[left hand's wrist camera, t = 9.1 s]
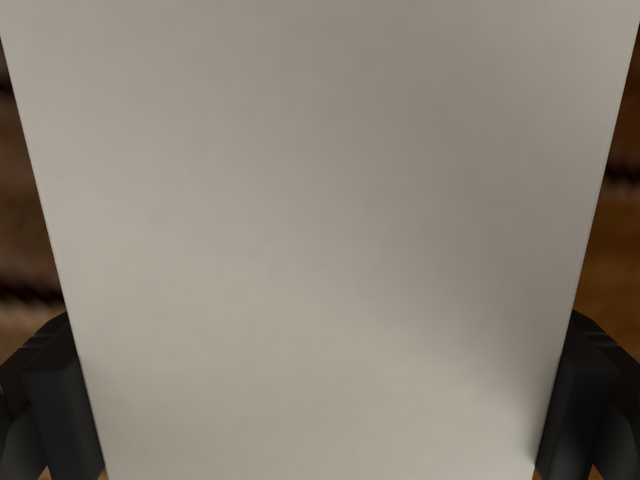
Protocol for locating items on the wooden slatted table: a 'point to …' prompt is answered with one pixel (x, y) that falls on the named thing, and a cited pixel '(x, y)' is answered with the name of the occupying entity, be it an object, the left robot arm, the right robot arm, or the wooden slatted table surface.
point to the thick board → (319, 223)
